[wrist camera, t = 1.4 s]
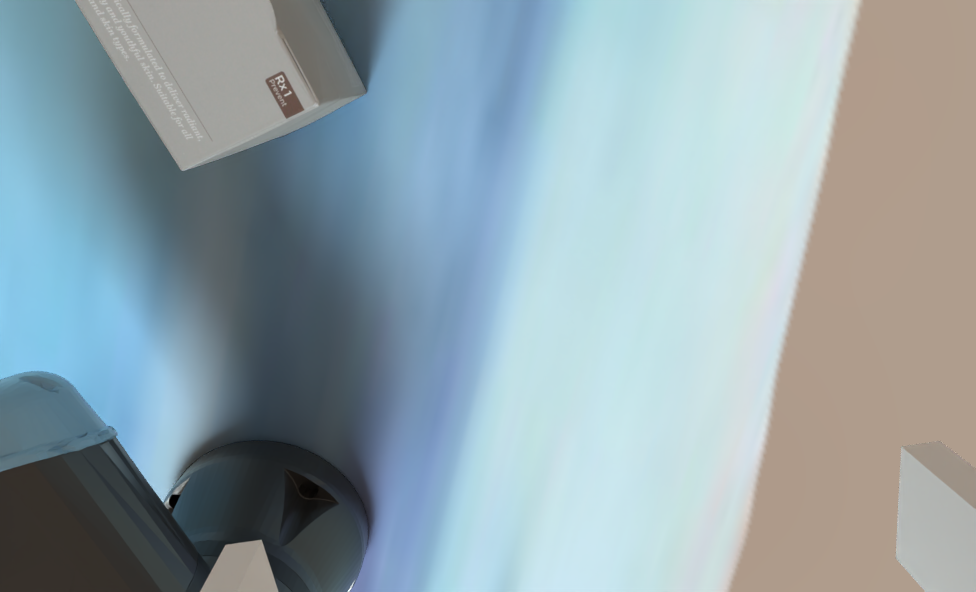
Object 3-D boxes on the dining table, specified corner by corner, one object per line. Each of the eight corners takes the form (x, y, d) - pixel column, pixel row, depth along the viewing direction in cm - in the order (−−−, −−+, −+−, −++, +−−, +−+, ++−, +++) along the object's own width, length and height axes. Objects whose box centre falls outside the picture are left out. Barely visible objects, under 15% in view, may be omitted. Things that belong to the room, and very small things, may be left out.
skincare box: (208, 12, 38) (25, -34, 23) (314, -45, 37) (196, -133, 22) (282, 145, 40) (161, 184, 25) (383, 95, 39) (320, 104, 24)
